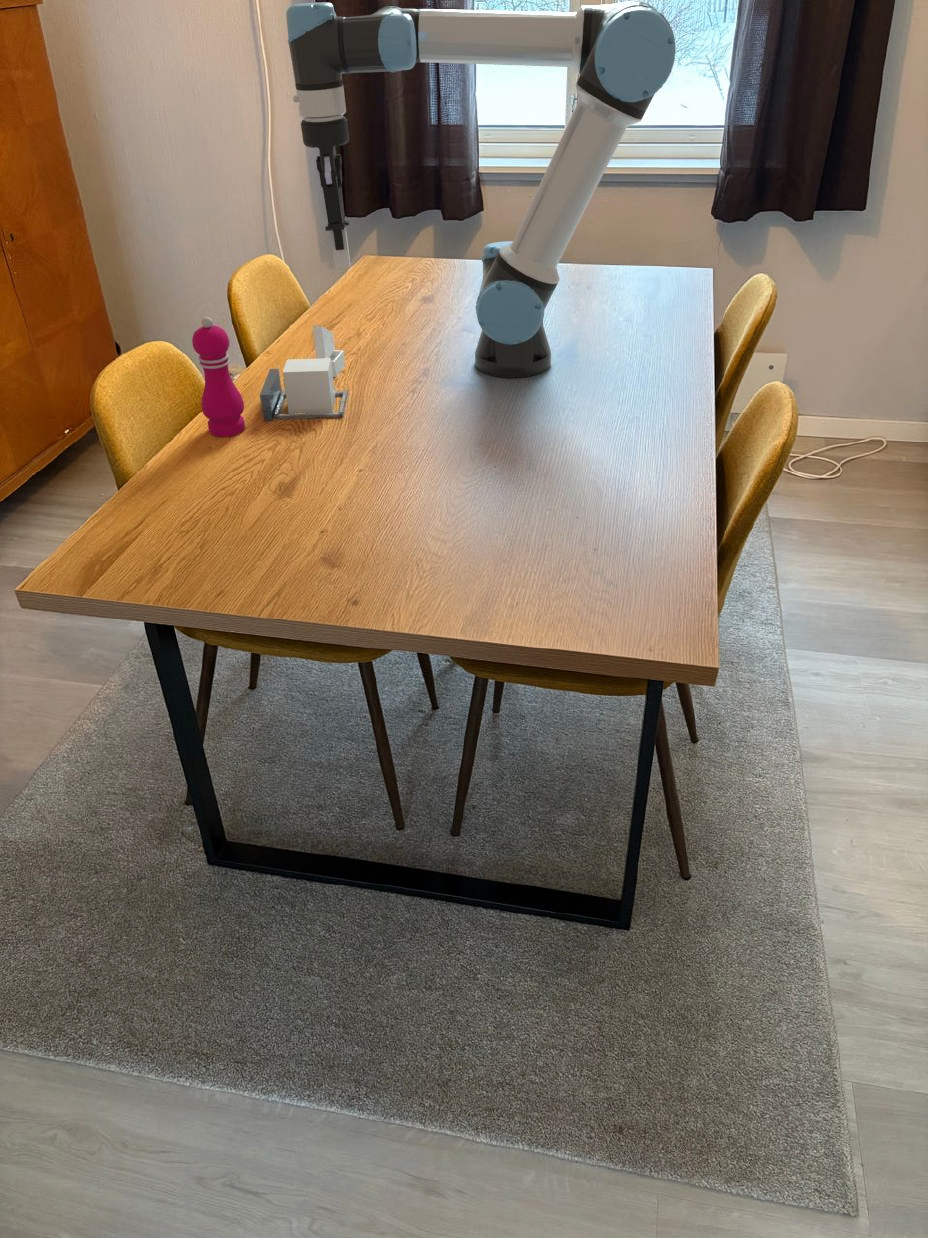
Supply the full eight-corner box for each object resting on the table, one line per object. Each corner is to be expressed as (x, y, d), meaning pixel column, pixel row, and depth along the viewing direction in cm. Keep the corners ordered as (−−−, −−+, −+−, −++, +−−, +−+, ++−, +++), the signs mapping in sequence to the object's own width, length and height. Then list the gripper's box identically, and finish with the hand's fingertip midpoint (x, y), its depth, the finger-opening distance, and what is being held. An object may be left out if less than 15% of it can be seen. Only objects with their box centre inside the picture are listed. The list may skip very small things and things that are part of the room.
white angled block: (309, 372, 180) (312, 325, 178) (326, 379, 189) (329, 335, 188) (328, 373, 179) (330, 326, 178) (344, 380, 189) (346, 336, 188)
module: (335, 399, 175) (330, 357, 171) (332, 412, 170) (327, 370, 166) (291, 400, 175) (286, 359, 170) (287, 414, 170) (281, 372, 166)
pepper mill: (255, 423, 167) (236, 311, 155) (234, 440, 162) (213, 326, 150) (220, 418, 169) (198, 308, 157) (198, 435, 164) (174, 322, 152)
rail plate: (348, 392, 178) (345, 366, 175) (342, 419, 168) (339, 392, 165) (273, 394, 178) (269, 368, 175) (263, 421, 168) (259, 394, 165)
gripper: (302, 112, 156) (323, 258, 170) (296, 125, 146) (319, 279, 160) (347, 109, 157) (364, 254, 171) (345, 122, 146) (363, 276, 160)
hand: (342, 266), depth 165 cm, fingers closed
